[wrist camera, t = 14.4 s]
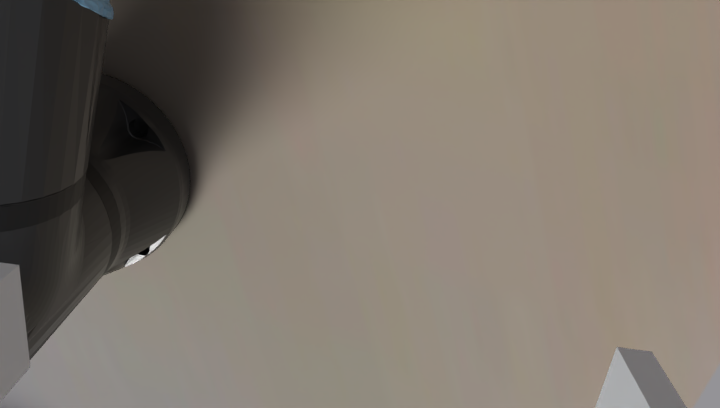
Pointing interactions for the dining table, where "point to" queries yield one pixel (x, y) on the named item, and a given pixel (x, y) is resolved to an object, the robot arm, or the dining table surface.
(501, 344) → the dining table surface
